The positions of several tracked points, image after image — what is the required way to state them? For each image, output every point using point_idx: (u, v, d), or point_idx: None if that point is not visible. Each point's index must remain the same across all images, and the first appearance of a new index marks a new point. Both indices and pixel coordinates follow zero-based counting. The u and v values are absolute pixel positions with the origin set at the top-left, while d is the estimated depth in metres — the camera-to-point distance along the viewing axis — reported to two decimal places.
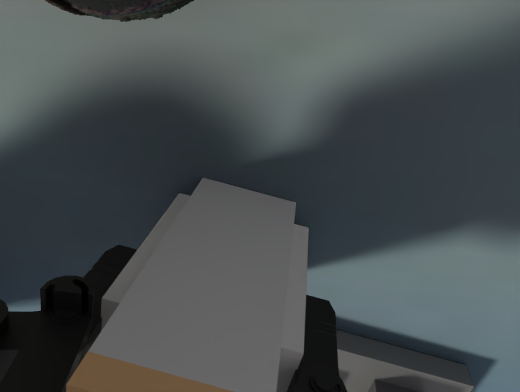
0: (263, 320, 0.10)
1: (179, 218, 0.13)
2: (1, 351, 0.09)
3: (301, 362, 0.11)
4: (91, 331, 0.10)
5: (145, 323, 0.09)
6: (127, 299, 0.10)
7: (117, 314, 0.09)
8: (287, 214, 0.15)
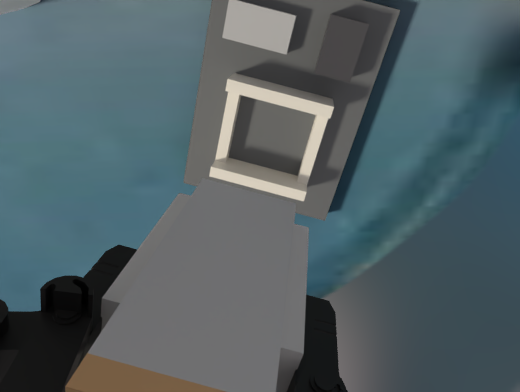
0: (263, 322, 0.10)
1: (179, 219, 0.13)
2: (1, 351, 0.09)
3: (301, 362, 0.11)
4: (91, 331, 0.10)
5: (144, 324, 0.09)
6: (126, 300, 0.10)
7: (116, 316, 0.09)
8: (287, 215, 0.15)
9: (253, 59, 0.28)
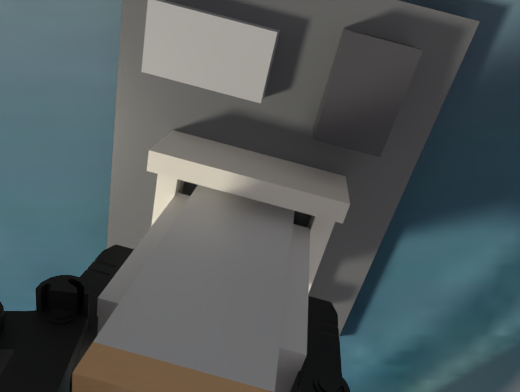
0: (263, 313, 0.10)
1: (181, 215, 0.14)
2: None
3: (304, 363, 0.11)
4: (87, 330, 0.10)
5: (148, 315, 0.09)
6: (130, 292, 0.10)
7: (121, 307, 0.09)
8: (287, 211, 0.16)
9: (204, 108, 0.15)
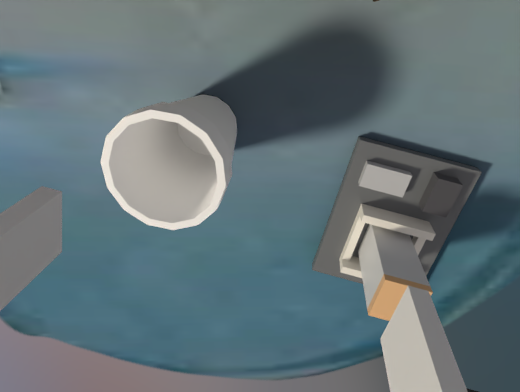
0: (418, 269, 0.35)
1: (376, 238, 0.38)
2: None
3: None
4: None
5: (390, 268, 0.34)
6: (382, 262, 0.35)
7: (382, 266, 0.34)
8: (407, 235, 0.40)
9: (376, 196, 0.40)
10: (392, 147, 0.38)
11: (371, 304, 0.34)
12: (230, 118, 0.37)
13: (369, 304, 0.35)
